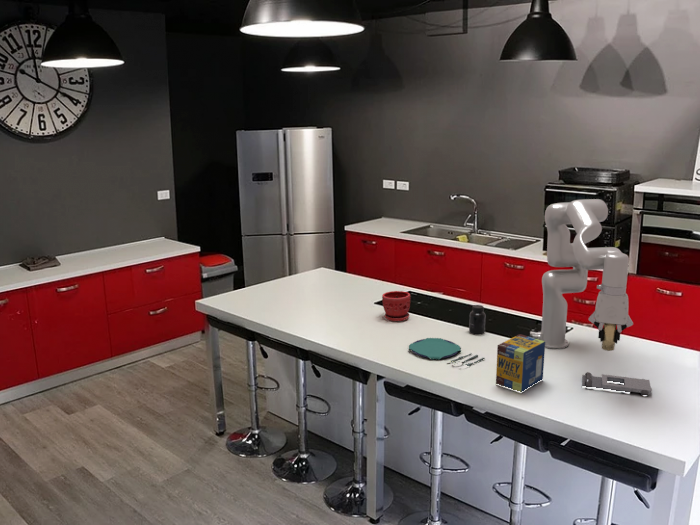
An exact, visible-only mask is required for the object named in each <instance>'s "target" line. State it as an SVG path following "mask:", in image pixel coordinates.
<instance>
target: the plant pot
mask: <svg viewBox="0 0 700 525" xmlns="http://www.w3.org/2000/svg"><path fill="white" fill-rule="evenodd" d="M381 297H382V298H381V300H382V307H383V311H384V317H385V319H386V320H388V321H390V322H403V321H406V320H407V319H409V317H410V313H409V311H410V307H411V294H410V293H409V292H407V291H401V290H393V291H387V292H385V293H383V294H382V296H381Z"/></svg>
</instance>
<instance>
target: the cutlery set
mask: <svg viewBox="0 0 700 525" xmlns="http://www.w3.org/2000/svg"><path fill="white" fill-rule="evenodd" d="M408 351H411V352H412V353H413V354H415V355H417V356H419V357H423V358H427V359H430V360H434V359H436V360H437V359H438V361H439V360H441V359H446V358H447V359H448V358H450V357H454V356H455V355H456V354H458V353H461V352H462V350H461V346H460V345H459V344H457V343H455V342H453V341H451V340H447V339H444V338H439V337H427V338H423V339H417V340H416V341H414V342H411V343H410V344H409V345H408ZM471 354H472V353H471V352H470V353H469V354H467V355H466V354H465V355H463V356H459V357H458V358H455V359H452V360H450V361H451V362H452V361H454V363H456V362H457V361H459V360H458V359H461V358H463V357H464V358H467V357H468V355H469V356H471V357H469V358H467V359H465V360H464V365H467V366H470V367H471V366H472V365H471V364H473V362H470V363H466V362H468V361H471V360H473V359H475V358H478V357H479V355H478V354H475V355H473V354H472V355H473V356H472V355H471ZM464 358H463V359H464ZM470 359H471V360H470ZM483 359H485V360H486V357H481V358H479V359H477V360H476V361H474V363H476V362H478V361H480V362H482V361H481V360H483ZM455 360H457V361H455ZM461 360H462V359H461ZM465 361H466V362H465ZM483 361H484V360H483ZM452 363H453V362H452ZM478 363H479V362H478ZM476 364H477V363H476ZM473 365H474V364H473Z"/></svg>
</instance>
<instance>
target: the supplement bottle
mask: <svg viewBox="0 0 700 525" xmlns="http://www.w3.org/2000/svg"><path fill="white" fill-rule="evenodd" d="M484 309H485V308H484V305H480V304H474V305H472V310H471V311H470V313H469V324H468V325H469V326H468V332H469V333H470V334H472V335H475V334H481V335H483V334H485V332H486V318H487V317H486V313H485V312H484Z"/></svg>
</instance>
